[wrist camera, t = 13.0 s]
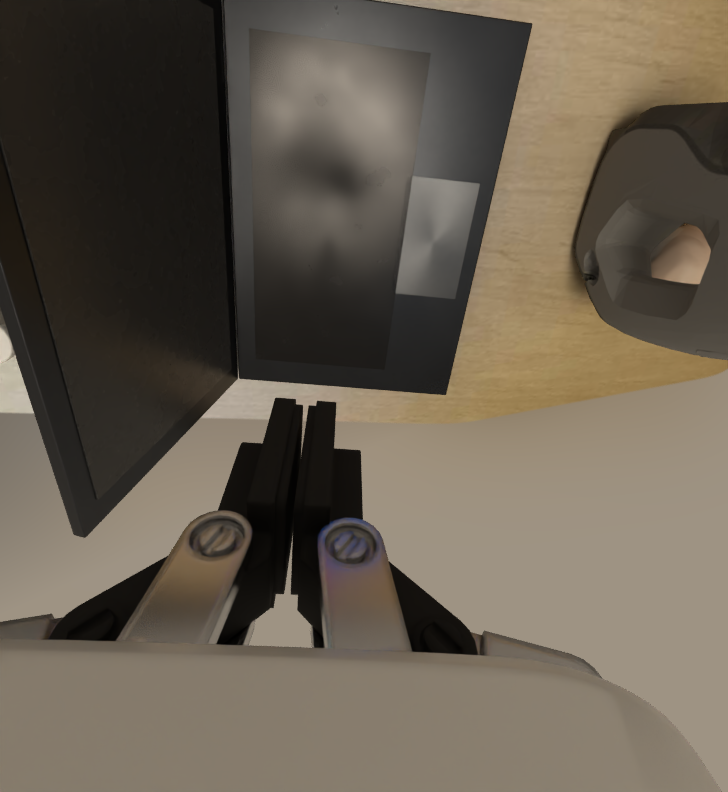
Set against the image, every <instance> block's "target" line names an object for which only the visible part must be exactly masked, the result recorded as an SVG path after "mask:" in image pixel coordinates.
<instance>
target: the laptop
mask: <svg viewBox="0 0 728 792" xmlns="http://www.w3.org/2000/svg"><path fill="white" fill-rule="evenodd" d="M223 4H224V28H225V51H226V75H227V99H228V123H229V147H230V170H231V194H232V218H233V242H234V265H235V289H236V313H237V337H238V361H239V378H240V379H251V380H264V381H276V382H289V383H302V384H314V385H327V386H339V387H352V388H364V389H377V390H390V391H402V392H415V393H427V394H440V395H446V392H447V388H448V384H449V379H450V375H451V371H452V367H453V362H454V358H455V354H456V349H457V345H458V341H459V337H460V332H461V328H462V324H463V319H464V315H465V311H466V307H467V302H468V298H469V294H470V289H471V285H472V281H473V277H474V272H475V268H476V264H477V259H478V255H479V251H480V247H481V242H482V238H483V234H484V229H485V225H486V221H487V217H488V212H489V208H490V204H491V199H492V195H493V191H494V187H495V182H496V178H497V174H498V169H499V165H500V161H501V157H502V152H503V148H504V144H505V139H506V135H507V131H508V127H509V122H510V118H511V114H512V110H513V105H514V101H515V97H516V92H517V88H518V84H519V80H520V75H521V71H522V67H523V62H524V58H525V54H526V50H527V45H528V41H529V37H530V32H531V28H532V23H525V22H518V21H512V20H505V19H498V18H491V17H484V16H477V15H470V14H463V13H457V12H450V11H443V10H436V9H429V8H422V7H415V6H408V5H402V4H395V3H388V2H381V1H374V0H223Z"/></svg>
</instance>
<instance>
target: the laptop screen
mask: <svg viewBox="0 0 728 792" xmlns="http://www.w3.org/2000/svg"><path fill="white" fill-rule="evenodd" d="M0 309H1V312H2V315H3V319H4V322H5V325H6V328H7V331H8V334H9V337H10V340H11V343H12V346H13V349H14V352H15V355H16V359H17V362H18V365H19V368H20V371H21V374H22V377H23V380H24V383H25V386H26V389H27V392H28V395H29V399H30V402H31V405H32V408H33V411H34V414H35V417H36V420H37V423H38V426H39V429H40V432H41V435H42V439H43V442H44V445H45V448H46V451H47V454H48V457H49V460H50V463H51V466H52V469H53V472H54V475H55V479H56V481H57V485H58V488H59V491H60V494H61V497H62V500H63V503H64V506H65V509H66V512H67V515H68V519H69V522H70V524H71V528H72V531H73V534H74V535H76V536H80V537H84V538H85V537H86V536H88V534H89V533H90V532H91V531H92V530H93V529H94V528H95V527H96V526H97V525H98V524H99V523H100V522H101V521H102V520H103V519H104V518H105V517H106V516H107V514H109V513H110V512H111V510H112V509H113V508H114V507H115V506H116V505H117V504H118V503H119V502H120V501H121V500H122V499H123V498H124V497H125V496H126V495H127V494H128V493H129V492H130V491H131V490H132V488H133V487H134V486H135V485H136V484H137V483H138V482H139V481H140V480H141V479H142V478H143V477H144V476H145V475H146V474H147V473H148V472H149V471H150V470H151V469H152V468H153V466H154V465H156V463H157V462H158V461H159V460H160V459H161V458H162V457H163V456H164V455H165V454H166V453H167V452H168V451H169V450H170V449H171V448H172V447H173V446H174V445H175V444H176V442H178V440H179V439H180V438H181V437H182V436H183V435H184V434H185V433H186V432H187V431H188V430H189V429H190V428H191V427H192V426H193V425H194V424H195V423H196V422H197V421H198V420H199V419H200V418H201V416H202V415H203V414H204V413H205V412H206V411H207V410H208V409H209V408H210V407H211V406H212V405H213V404H214V403H215V402H216V401H217V400H218V399H219V398H220V397H221V396H222V395H223V393H224V392H225V391H226V390H227V389H228V388H229V387H230V386H231V385H232V384H233V383H234V382H235V381H236V380H237V379H238V371H237V348H236V325H235V302H234V279H233V257H232V234H231V211H230V188H229V166H228V143H227V120H226V97H225V74H224V52H223V29H222V6H221V0H0Z"/></svg>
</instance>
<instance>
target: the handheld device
mask: <svg viewBox="0 0 728 792" xmlns="http://www.w3.org/2000/svg"><path fill="white" fill-rule="evenodd" d="M684 223H687V224H690V225H693V226H697V227H698V228H699V229H700V230H701V231H702V232H703V234H704V237H705V239H706V241H707V243H708V245H709V247H710V250H711V252H710V258H709V261H708V264H707V266H706V269H705V271H704V274H703V276H702V279H701V281H700V284H689V283H681V282H674V281H668V280H663V279H658V278H653V277H652V271H651V260H650V256H651V254H652V252H653V250H654V249H655V248H656V246H657V245H658V244H659V243H660V242H662V241H663V240H664V239H665V238H667V237H668V236H669V235H670V234H671V233H673V232H674V231H675V230H676V229H678V228H679V227H680V226H681V225H682V224H684ZM575 257H576V260H577V263H578V267H579V270H580V273H581V275H582V277H583V280H585V281H587V282H586V283H585V286H586V289H587V292H588V294H589V297H590V299H591V301H592V303H593V305H594V307H595V309H596V311H597V312H598V314H599V316H600V317H601V318H602V319H603V320H604V321H605V322H606V323H607V324H609V325H611V326H612V327H614V328H616V329H618V330H619V331H621V332H623V333H625V334H627V335H630V336H632V337H635V338H637V339H640V340H642V341H646V342H649V343H652V344H655V345H659V346H662V347H665V348H669V349H672V350H677V351H681V352H685V353H689V354H693V355H699V356H701V357H708V358H714V359H722V360H728V102H723V103H701V104H681V105H664V106H656V107H653V108H650V109H649V110H647V111H645V112H644V113H642V114H641V115H640V116H639V117H638V118H637V119H636V120H635V121H634V122H633V123H632V124H631V125H630V126H629V127H627V128H623V129H617V130H614V131H612V134H611V136H610V138H609V142H608V147H607V152H606V154H605V156H604V157H603V159H602V161H601V164H600V166H599V168H598V171H597V174H596V177H595V180H594V183H593V186H592V189H591V192H590V195H589V198H588V201H587V204H586V207H585V211H584V214H583V217H582V221H581V224H580V228H579V231H578V235H577V239H576V244H575Z"/></svg>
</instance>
